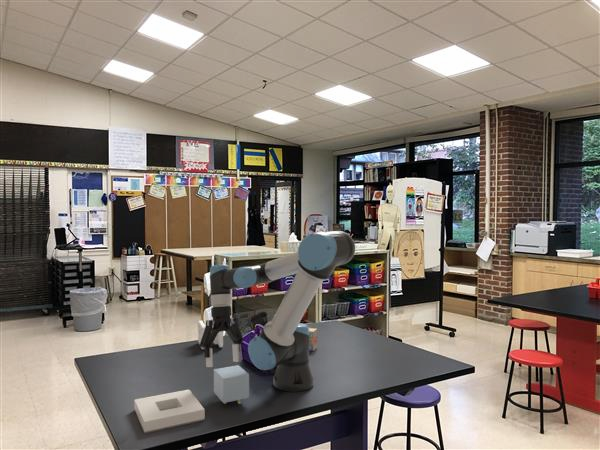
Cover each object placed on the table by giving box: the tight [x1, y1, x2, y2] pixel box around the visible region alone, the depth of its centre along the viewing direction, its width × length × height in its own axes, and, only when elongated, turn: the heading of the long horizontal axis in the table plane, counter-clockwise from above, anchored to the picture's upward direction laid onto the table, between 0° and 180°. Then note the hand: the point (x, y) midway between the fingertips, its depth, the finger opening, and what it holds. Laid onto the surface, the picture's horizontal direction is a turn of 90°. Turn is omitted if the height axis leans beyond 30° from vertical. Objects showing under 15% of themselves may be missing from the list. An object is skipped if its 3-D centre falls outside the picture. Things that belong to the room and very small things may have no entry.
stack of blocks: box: [309, 327, 318, 352], centre depth 220 cm, size 21×6×12 cm, turn 70°
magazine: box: [249, 311, 269, 331], centre depth 230 cm, size 4×13×15 cm, turn 36°
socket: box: [134, 389, 206, 434], centre depth 147 cm, size 18×18×4 cm
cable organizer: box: [196, 320, 224, 350], centre depth 221 cm, size 15×11×12 cm
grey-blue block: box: [213, 364, 250, 405], centre depth 157 cm, size 10×9×10 cm
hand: (223, 364), depth 170 cm, fingers open, 13 cm apart
